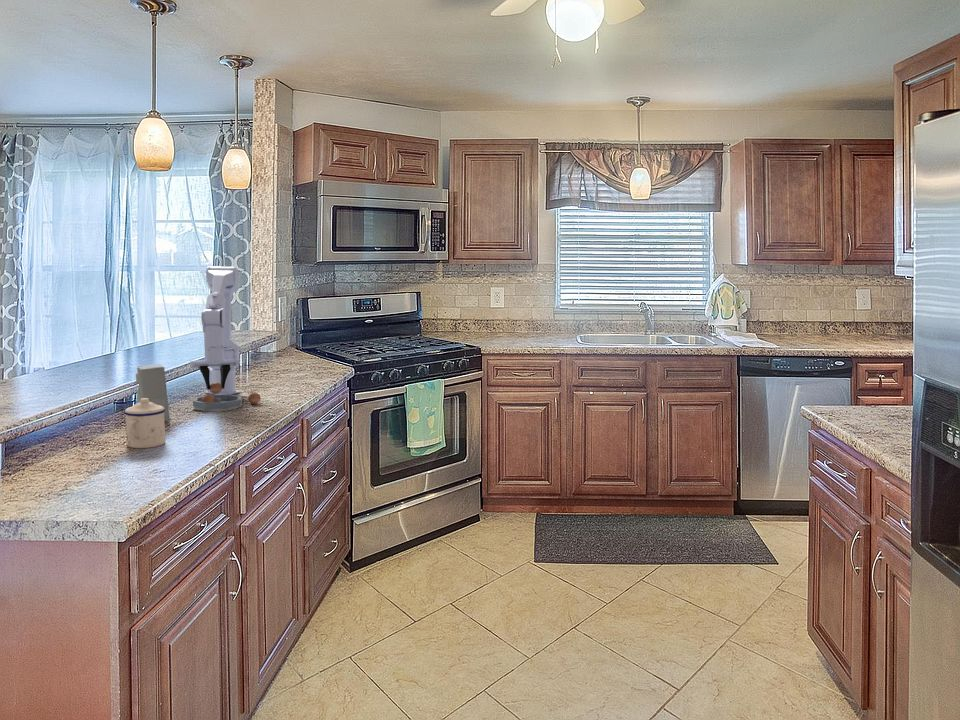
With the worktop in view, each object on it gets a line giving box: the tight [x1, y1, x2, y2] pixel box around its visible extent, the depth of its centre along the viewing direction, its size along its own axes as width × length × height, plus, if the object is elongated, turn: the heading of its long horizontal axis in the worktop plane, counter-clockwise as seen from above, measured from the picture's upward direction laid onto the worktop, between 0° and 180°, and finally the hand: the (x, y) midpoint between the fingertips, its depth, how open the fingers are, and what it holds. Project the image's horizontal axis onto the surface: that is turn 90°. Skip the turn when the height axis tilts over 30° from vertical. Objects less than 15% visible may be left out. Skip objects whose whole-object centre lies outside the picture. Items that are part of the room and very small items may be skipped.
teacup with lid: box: [123, 398, 166, 449], centre depth 168 cm, size 12×9×12 cm
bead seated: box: [202, 393, 215, 403], centre depth 212 cm, size 4×4×4 cm
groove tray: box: [192, 394, 243, 412], centre depth 216 cm, size 14×14×3 cm
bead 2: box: [247, 391, 261, 405], centre depth 221 cm, size 4×4×4 cm
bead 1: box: [210, 382, 222, 395], centre depth 218 cm, size 4×4×4 cm
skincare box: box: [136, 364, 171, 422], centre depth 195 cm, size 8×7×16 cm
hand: (215, 388), depth 218 cm, fingers closed on bead 1, 4 cm apart
